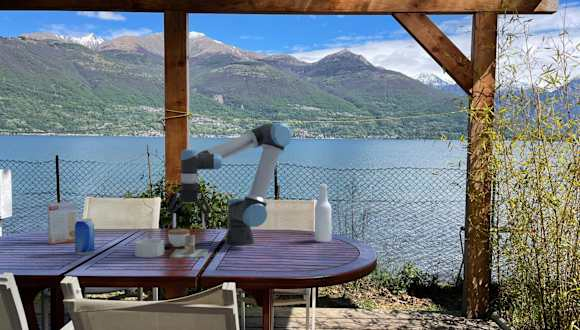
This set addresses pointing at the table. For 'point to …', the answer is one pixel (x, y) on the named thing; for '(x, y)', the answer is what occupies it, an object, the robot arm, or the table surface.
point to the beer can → (84, 237)
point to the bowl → (149, 248)
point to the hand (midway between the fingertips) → (189, 227)
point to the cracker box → (62, 222)
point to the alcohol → (323, 216)
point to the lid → (189, 250)
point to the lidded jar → (178, 236)
